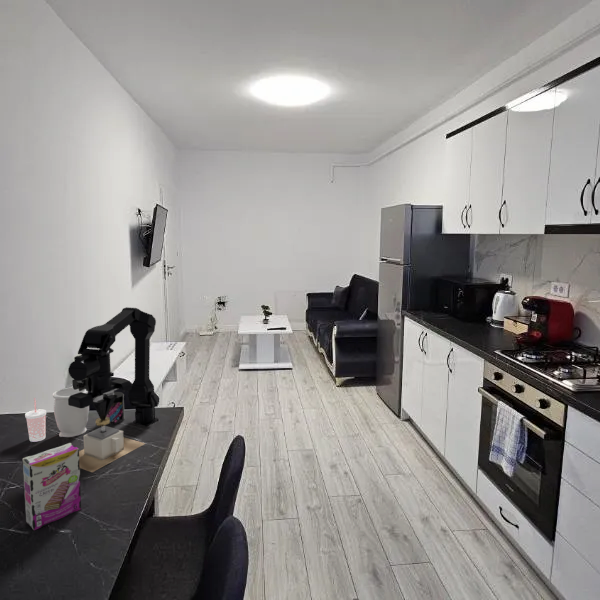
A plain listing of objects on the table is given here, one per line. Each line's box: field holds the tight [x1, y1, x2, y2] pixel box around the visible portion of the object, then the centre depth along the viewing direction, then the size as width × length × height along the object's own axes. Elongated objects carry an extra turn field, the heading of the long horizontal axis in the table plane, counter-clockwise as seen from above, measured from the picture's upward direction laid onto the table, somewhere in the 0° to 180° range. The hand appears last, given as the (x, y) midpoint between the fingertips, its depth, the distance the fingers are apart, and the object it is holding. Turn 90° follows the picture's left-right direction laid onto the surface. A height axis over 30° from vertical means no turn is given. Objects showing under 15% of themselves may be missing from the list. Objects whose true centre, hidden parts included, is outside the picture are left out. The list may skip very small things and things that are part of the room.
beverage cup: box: [24, 397, 47, 443], centre depth 148 cm, size 6×6×14 cm
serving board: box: [79, 436, 146, 473], centre depth 139 cm, size 20×14×1 cm
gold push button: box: [95, 417, 110, 433], centre depth 138 cm, size 5×5×7 cm
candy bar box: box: [22, 442, 82, 531], centre depth 108 cm, size 11×5×16 cm, turn 141°
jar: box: [52, 386, 90, 438], centre depth 152 cm, size 11×10×15 cm
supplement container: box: [106, 391, 125, 425], centre depth 162 cm, size 7×7×10 cm
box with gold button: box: [82, 425, 124, 460], centre depth 138 cm, size 8×10×7 cm
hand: (102, 419), depth 138 cm, fingers closed, pressing on gold push button
